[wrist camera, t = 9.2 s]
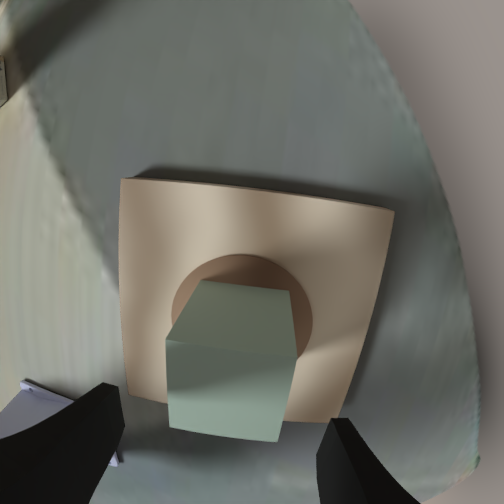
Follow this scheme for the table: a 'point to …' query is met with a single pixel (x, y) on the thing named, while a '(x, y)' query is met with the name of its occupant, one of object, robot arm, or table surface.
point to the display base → (251, 275)
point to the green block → (231, 361)
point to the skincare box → (2, 82)
